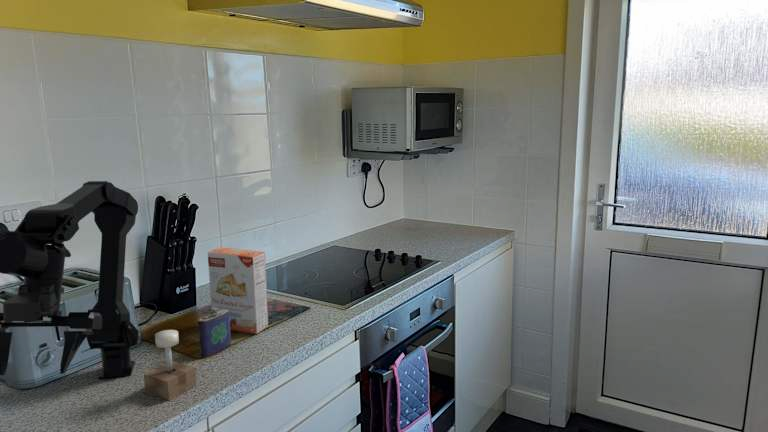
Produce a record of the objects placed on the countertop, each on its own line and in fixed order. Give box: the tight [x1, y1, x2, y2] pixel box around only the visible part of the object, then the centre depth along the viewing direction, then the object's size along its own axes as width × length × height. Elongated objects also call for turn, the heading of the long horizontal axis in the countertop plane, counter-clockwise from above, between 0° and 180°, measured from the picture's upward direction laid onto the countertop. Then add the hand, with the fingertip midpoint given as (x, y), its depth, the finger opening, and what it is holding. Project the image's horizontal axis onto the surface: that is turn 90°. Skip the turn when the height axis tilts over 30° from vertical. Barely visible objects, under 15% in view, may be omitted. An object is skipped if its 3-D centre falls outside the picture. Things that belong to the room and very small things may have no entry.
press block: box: [143, 360, 197, 401], centre depth 114 cm, size 7×7×4 cm
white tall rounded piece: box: [154, 329, 180, 373], centre depth 113 cm, size 4×4×8 cm
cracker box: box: [207, 247, 269, 335], centre depth 145 cm, size 14×6×21 cm, turn 68°
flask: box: [197, 307, 232, 359], centre depth 132 cm, size 9×3×11 cm, turn 152°
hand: (32, 374), depth 92 cm, fingers open, 9 cm apart
